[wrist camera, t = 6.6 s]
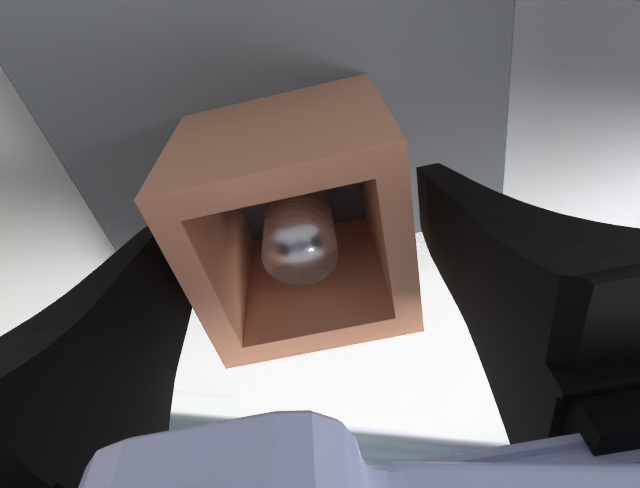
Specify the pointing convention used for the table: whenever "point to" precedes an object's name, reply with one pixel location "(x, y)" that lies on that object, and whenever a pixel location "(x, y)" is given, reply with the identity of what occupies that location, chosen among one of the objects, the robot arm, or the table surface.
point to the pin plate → (256, 93)
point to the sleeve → (279, 183)
